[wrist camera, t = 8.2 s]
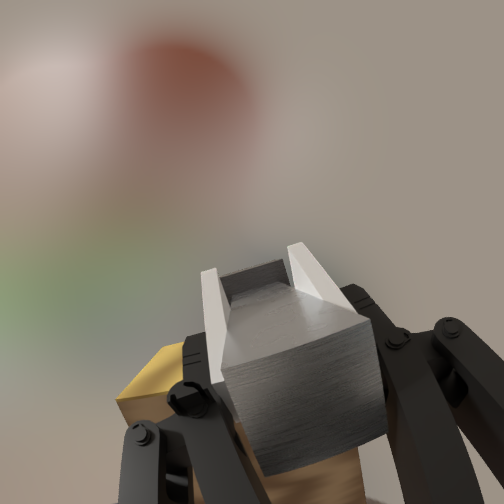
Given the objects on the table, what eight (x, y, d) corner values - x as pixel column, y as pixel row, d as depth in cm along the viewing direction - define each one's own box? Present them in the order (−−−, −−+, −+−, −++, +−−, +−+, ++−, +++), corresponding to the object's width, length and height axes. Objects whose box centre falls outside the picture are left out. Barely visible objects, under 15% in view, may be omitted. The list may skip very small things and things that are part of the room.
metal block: (237, 483, 6) (165, 313, 6) (236, 328, 26) (220, 275, 26) (411, 420, 6) (381, 245, 6) (289, 312, 26) (273, 259, 26)
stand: (258, 588, 13) (115, 399, 14) (253, 527, 25) (162, 346, 26) (372, 559, 14) (335, 342, 14) (344, 502, 26) (293, 309, 26)
